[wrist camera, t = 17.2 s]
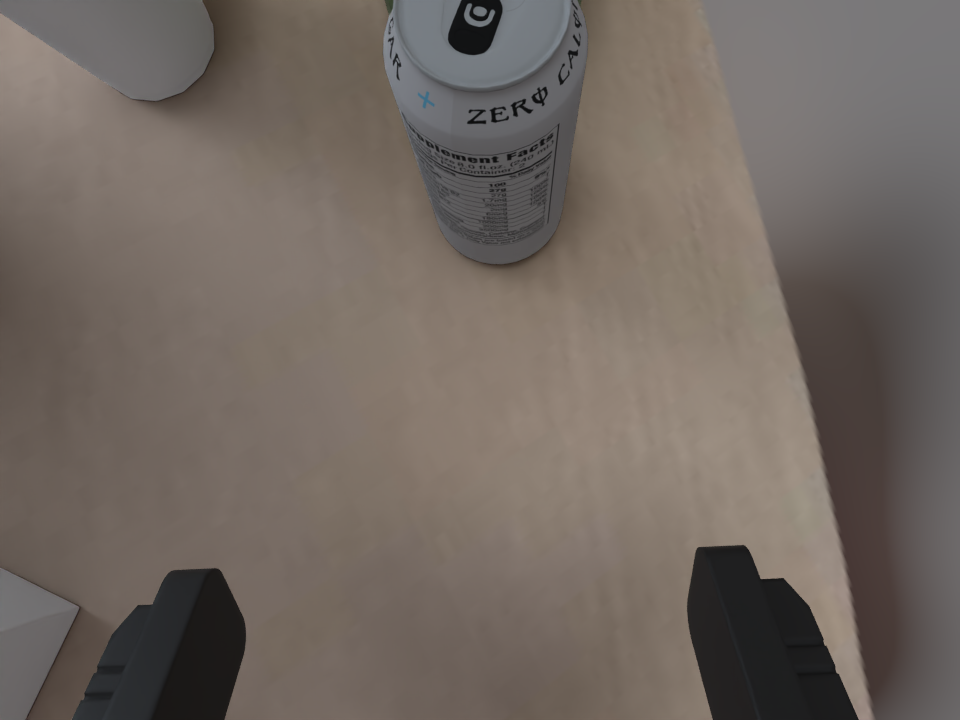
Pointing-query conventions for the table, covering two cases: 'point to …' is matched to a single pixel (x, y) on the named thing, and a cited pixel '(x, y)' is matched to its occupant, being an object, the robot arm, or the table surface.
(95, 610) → the table surface
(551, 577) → the table surface
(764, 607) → the robot arm
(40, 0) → the foam cup
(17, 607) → the milk
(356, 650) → the table surface
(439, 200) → the energy drink can
